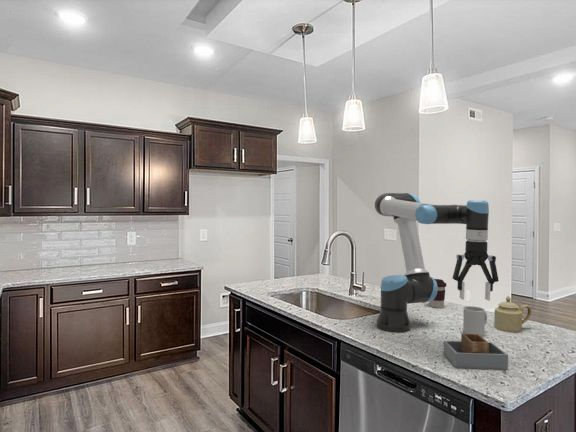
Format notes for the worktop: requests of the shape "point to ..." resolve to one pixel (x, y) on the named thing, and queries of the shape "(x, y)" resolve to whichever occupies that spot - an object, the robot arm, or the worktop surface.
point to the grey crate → (475, 357)
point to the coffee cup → (439, 295)
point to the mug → (474, 320)
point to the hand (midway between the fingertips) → (474, 299)
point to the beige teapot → (510, 316)
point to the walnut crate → (474, 344)
